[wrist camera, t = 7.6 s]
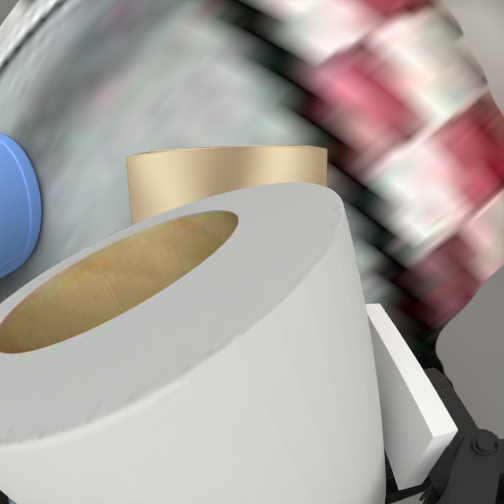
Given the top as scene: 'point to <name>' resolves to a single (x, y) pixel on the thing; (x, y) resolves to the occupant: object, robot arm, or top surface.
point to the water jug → (17, 206)
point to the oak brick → (215, 173)
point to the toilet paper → (197, 362)
